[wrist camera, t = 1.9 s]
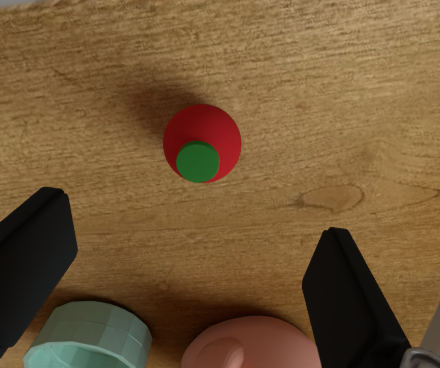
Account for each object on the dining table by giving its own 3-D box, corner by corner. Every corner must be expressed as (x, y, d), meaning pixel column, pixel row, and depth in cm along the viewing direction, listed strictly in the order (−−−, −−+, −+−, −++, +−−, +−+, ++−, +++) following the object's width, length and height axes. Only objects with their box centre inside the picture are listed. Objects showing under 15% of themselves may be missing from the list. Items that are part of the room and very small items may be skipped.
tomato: (158, 136, 20) (136, 170, 15) (197, 79, 18) (185, 100, 13) (212, 173, 22) (206, 215, 17) (255, 125, 19) (261, 158, 15)
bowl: (37, 331, 34) (8, 376, 30) (74, 280, 29) (47, 326, 24) (124, 366, 37) (110, 410, 33) (172, 326, 32) (162, 373, 28)
